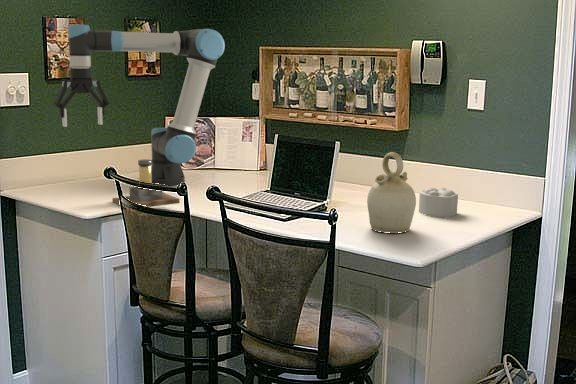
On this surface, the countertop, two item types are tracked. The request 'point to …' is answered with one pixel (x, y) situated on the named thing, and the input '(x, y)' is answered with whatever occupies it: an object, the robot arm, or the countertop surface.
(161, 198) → the hitch socket board
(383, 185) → the jug
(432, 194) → the lumpy-topped squat cylinder
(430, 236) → the countertop surface
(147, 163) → the gold cylindrical piece
